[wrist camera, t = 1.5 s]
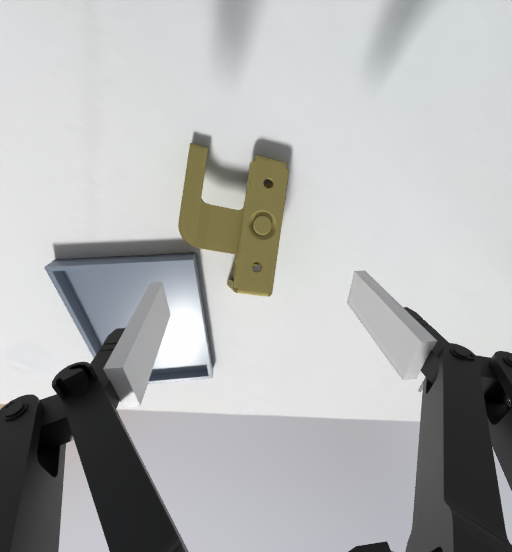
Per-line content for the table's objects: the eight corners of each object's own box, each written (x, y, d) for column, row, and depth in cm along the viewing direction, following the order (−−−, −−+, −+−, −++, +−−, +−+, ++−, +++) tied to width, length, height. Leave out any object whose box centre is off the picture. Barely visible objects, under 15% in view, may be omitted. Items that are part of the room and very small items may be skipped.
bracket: (181, 280, 32) (168, 284, 22) (195, 177, 32) (189, 136, 22) (254, 289, 34) (272, 297, 24) (268, 192, 34) (291, 161, 24)
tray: (55, 259, 29) (44, 267, 27) (195, 252, 30) (193, 259, 29) (114, 376, 41) (109, 387, 39) (213, 368, 42) (212, 377, 41)
